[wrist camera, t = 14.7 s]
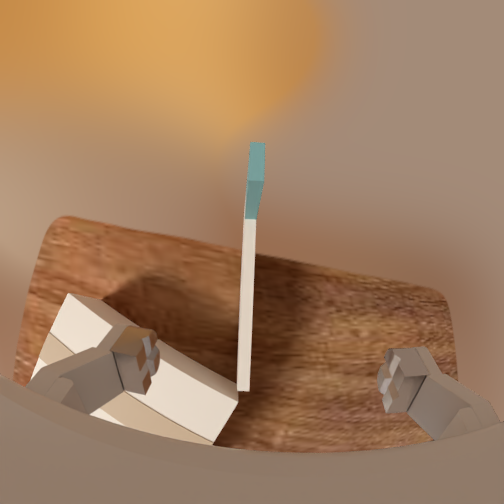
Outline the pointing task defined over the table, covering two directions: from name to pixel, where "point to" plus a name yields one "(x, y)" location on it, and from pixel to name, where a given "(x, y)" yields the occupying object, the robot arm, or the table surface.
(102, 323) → the carton
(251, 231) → the white teal flat panel
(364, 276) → the table surface
